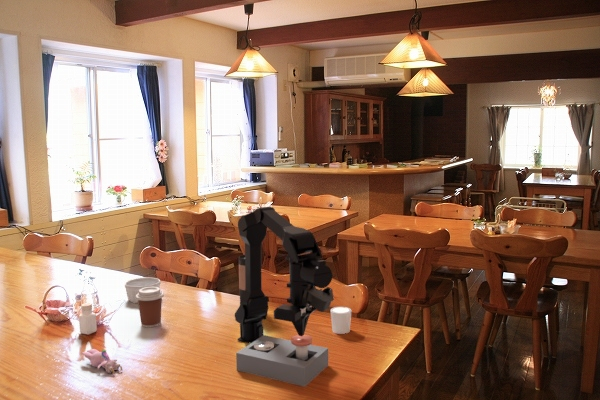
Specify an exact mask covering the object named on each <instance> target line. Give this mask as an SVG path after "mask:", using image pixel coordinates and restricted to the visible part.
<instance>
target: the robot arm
mask: <svg viewBox="0 0 600 400" xmlns="http://www.w3.org/2000/svg"><path fill="white" fill-rule="evenodd" d="M237 228H238V234H239V236H240V238H241V239H242V241H243V243H244V255H245V291H244V293H243V294H242V296H241V298H240V297H239V307H237V310H236V311H235V313H234V318H235V319H234V320H235V322H237V323H238V324H239V329H240V331H239V334H240V336H239V337H238V338H237V341H238V342H243V343H246V344H247V343H248V344H251V343H252V342H254V341H255V340H257V339H259V338H260V337H262V336H263V335H264V325H263V321H264V320H267V316H268V311H269V298H268V296H266V295H265V293H264V292H263V289H262V288H263V287H262V243H263V242H264V241H265V238H266V237H267V233H268V232H267V231H268V229H269V230H270V231H271V232H272V233H273V234H274V235H275V236H277V237H278V238H279V239H280V240H281V243H282V244H281V245H282V247H283V249H284V250H285V252H287V253H288V254H287V255H286V256H285V260H287V261H288V262H289V266H288V267H289V282H286V288H289V297H287V298H286V303H289V304H285V303H283V304H281V305H279V306H277V307H276V308H275V309H274V310H273V319H274V320H279V321H284V322H290V323H292V325H293V327H294V329H295V331H296V332H297V335H299V336H303V335H305V332H306V329H307V325H308V321H309V317H310V316H311V315H312V314H313V313H314V312H315V311H316V310H317V311H318V312H320V313H324V312H325V311H327V310H328V309H329V308H330V306H331V304H332V302H333V301H334V293H333V288H331V287H329V286H330V284H331V282H332V279H333V272H332V270H331V268H330V267H329V266H327V264H326V260H324V259H323V255H322V250H321V249H320V246H319V245H318V243H317V240H316V238H315V236H314V234H313V232H311V230H308V229H306V228H303V227H298V226H295V225H293V224H292V223H290V222H289V221H288V220H287V219H286V218H284V217H283V216H282V215H281V214H280V213H279V212H277V211H276V209H275V208H274V207H273V206H263V207H258V208H257V209H255V210H254V211H252V212H249V213H247V214H245V215H241V217H240V218H239V219H238V221H237ZM290 304H291V305H290Z"/></svg>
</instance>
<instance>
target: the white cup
mask: <svg viewBox="0 0 600 400" xmlns="http://www.w3.org/2000/svg"><path fill="white" fill-rule="evenodd" d="M329 310H330V320H331V328H332V329H331V330H332V332H333V334H334V333H335V334H338V335H343V334H344V335H346V334H348V333H350V332H351V323H352V321H351V319H352V309H351V308H350V307H346V306H334V307H332V308H331V309H329ZM345 333H346V334H345Z"/></svg>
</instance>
